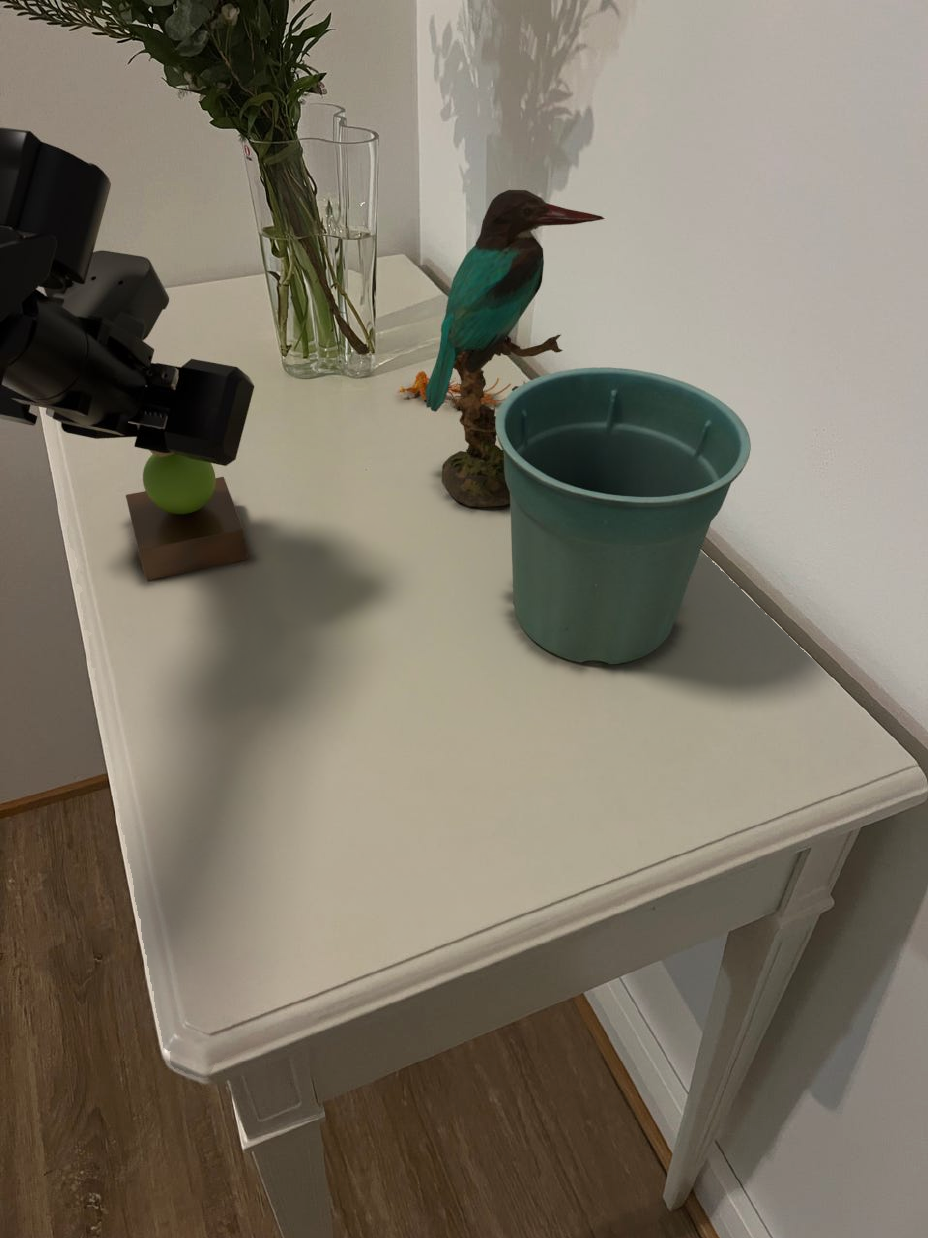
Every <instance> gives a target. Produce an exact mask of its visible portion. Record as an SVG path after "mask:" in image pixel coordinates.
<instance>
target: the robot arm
mask: <svg viewBox="0 0 928 1238" xmlns="http://www.w3.org/2000/svg"><path fill="white" fill-rule="evenodd" d="M111 187H112V182H111V180H110V177H108V176H107V174H106V173H105V172H104V170H102V168H100V167H99V166H98V165H96V164H95V163H93V162H92V163H91V162H87V161H85V160H84V159H82V158H80V157H78V156H76V155H75V154H73V153H71V152H69V151H67V150H65V149H62V148H60V147H57V146H55V145H52V144H49V143H47V142H44V141H41V140H40V138H38V136H36V135H35V134H34V133H33V132H32V131H31V130H25V129H17V128H9V127H0V419H1V420H4V421H8V422H13V423H18V424H22V425H26V426H27V425H28V426H32V427H33V426H34V427H35V425H36V424H37V420H38V415H36V414H34V413H33V412H30V409H31V406H34V407H39V408H43V409H45V414H46V415H47V416H48V417H50V418H52V419H53V420H55V421H57V422H59V423H60V428H61V430H62V431H63V432H65V433H66V434H70V435H75V436H81V437H85V438H90V439H94V440H99V439H102V440H103V439H117V438H119V439H121V438H135V441H134V448H137V449H143V450H147V451H150V450H151V451H156V452H161V453H172V452H174V453H175V454H178V455H181V456H184V457H187V458H190V459H194V460H199V461H204V462H209V463H211V464H214V465H218V466H219V465H220V466H224V467H227V466H228V465H230V464H231V463H232V462H234V461H236V459H237V455H238V451H239V449H240V444H241V440H242V435H243V432H244V428H245V424H246V421H247V417H248V414H249V409H250V405H251V402H252V398H253V393H254V390H255V385H254V382H253V381H252V379H251V377H250V376H249V375H248V374H246V373H245V372H244V371H243V370H241V369H240V368H239V367H238V366H234V365H228V364H223V363H219V362H218V363H217V362H212V361H208V360H207V361H206V360H201V359H195V358H191V359H189V360H188V361H187V362H185V363H184V364H183V365H181V366H176V365H171V364H167V363H159V362H156V363H154V362H153V361H152V360H153V357H154V353H155V348H153V347H152V346H151V345H149V344H148V343H146V342H145V340H146V339H147V338H148V336H149V335H150V333H151V332H152V330H153V328H154V326H155V325H156V323H157V321H158V319H159V317H160V315H161V314H162V312H163V310H166V309H167V307H168V306H169V303H170V296H169V294H168V292H167V290H166V288H165V287H164V284H163V283H162V281H161V279H160V277H159V275H158V273H157V271H156V270H155V267H154V266H153V264H152V262H151V260H150V259H149V258H148V257H145V256H141V255H135V254H128V253H123V252H116V251H110V250H104V249H103V250H101V249H100V250H96V251H94V250H95V246H96V243H97V240H98V236H99V231H100V228H101V224H102V222H103V221H102V220H103V218H104V213H105V209H106V207H107V202H108V198H109V194H110V191H111ZM38 288H43V291H44V293H43V292H41V291H40V290H38ZM137 424H138V425H140V426H139V430H138V428H137Z"/></svg>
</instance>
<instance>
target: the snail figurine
mask: <svg viewBox="0 0 928 1238" xmlns="http://www.w3.org/2000/svg"><path fill="white" fill-rule="evenodd" d="M139 426H140V425H138V424H137V428H138V430H139ZM149 451H150V453H151V455H150V456H149V457H148V459H147V461H146V462H145V465H144V466H143V467H144V468H143V471H142V484H143V488H144V491H146V493H147V495H148V497H149V498H150V499H151V501H152V502H153V503H154V504H155V505H156V506H158V507H159V508H161V509H162V510H164V511H167V512H170V513H173V514H188V513H192V512H195V511H197V510H199V509H200V508H202V507H203V506H204V505H205V504H206V503H207V502H208V501H209V500H210V498H211V497H212V495H213V492H214V489H215V483H216V478H217V477H216V473H215V469H214V466H213V463H209V462H204V461H199V460H194V459H190V458H187V457H184V456H181V455H178V454H175V453H174V452H172V453H161V452H156V451H151V450H149Z"/></svg>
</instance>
